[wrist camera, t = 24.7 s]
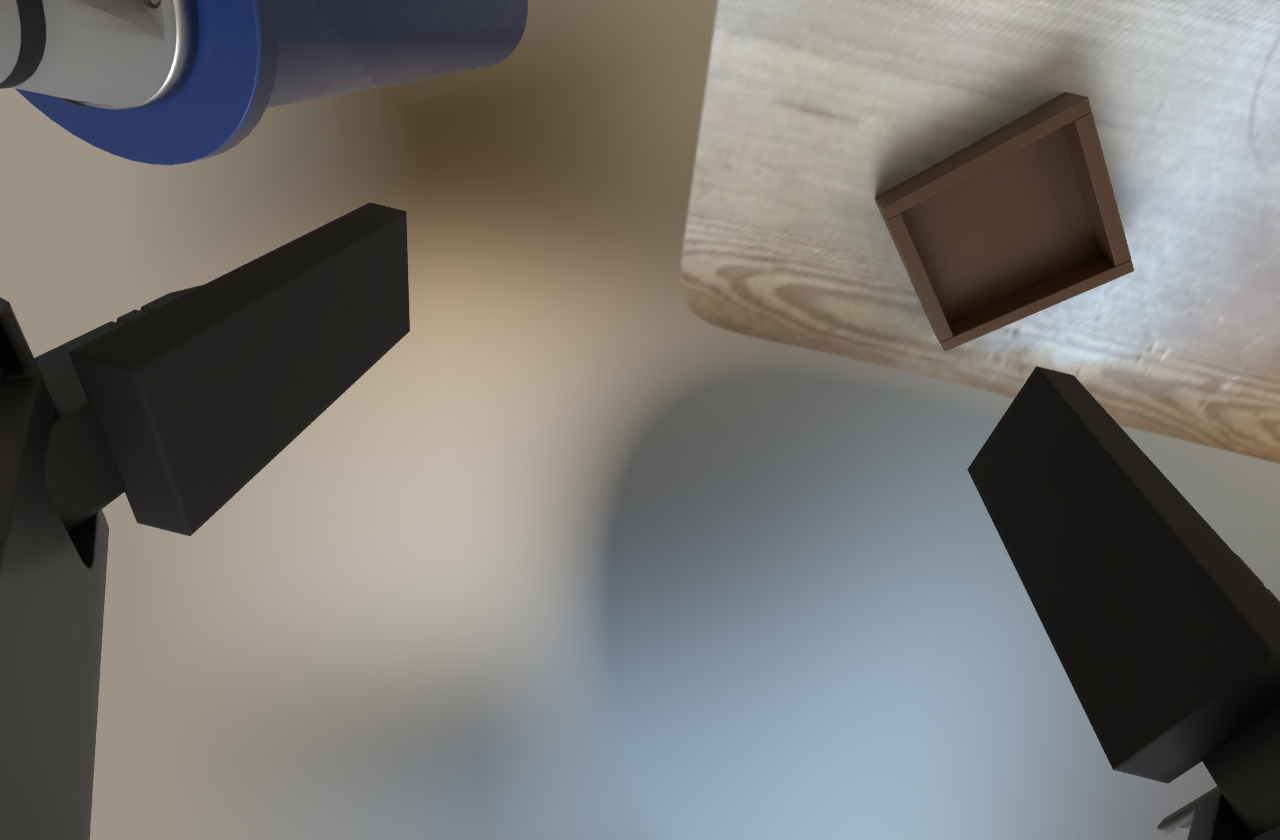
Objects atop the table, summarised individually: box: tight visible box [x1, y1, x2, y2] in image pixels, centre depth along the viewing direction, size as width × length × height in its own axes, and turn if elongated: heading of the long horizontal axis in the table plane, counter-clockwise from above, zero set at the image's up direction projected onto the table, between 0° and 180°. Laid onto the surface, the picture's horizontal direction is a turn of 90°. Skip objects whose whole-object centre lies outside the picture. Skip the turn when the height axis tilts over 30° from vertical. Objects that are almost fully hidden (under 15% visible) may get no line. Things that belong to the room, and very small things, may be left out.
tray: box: [875, 92, 1134, 351], centre depth 36 cm, size 11×11×2 cm
